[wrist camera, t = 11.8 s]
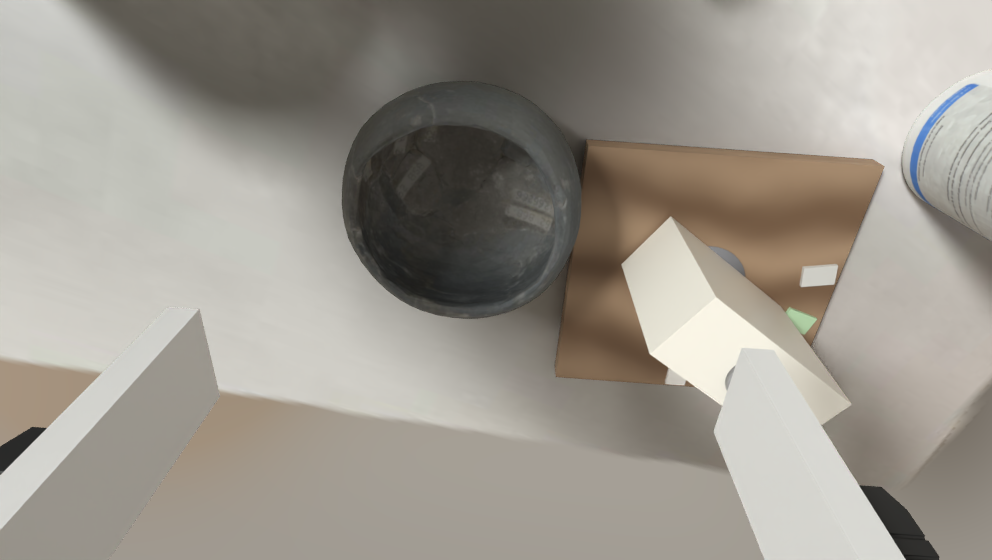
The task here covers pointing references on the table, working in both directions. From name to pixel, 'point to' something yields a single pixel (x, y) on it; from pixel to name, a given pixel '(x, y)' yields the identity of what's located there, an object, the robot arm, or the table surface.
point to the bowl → (462, 199)
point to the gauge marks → (800, 319)
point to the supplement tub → (955, 153)
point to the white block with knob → (716, 319)
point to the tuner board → (701, 236)
